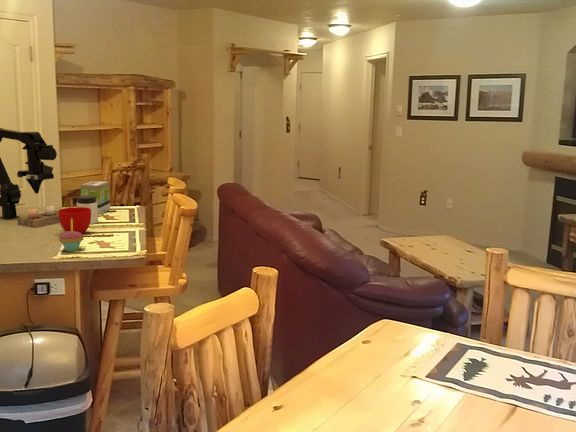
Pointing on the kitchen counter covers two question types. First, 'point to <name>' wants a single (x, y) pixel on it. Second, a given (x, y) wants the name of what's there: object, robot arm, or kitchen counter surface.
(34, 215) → the terracotta button
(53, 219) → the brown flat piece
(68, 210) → the ceramic cup
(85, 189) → the tea box
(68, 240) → the cupcake
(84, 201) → the jar
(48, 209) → the cream button
